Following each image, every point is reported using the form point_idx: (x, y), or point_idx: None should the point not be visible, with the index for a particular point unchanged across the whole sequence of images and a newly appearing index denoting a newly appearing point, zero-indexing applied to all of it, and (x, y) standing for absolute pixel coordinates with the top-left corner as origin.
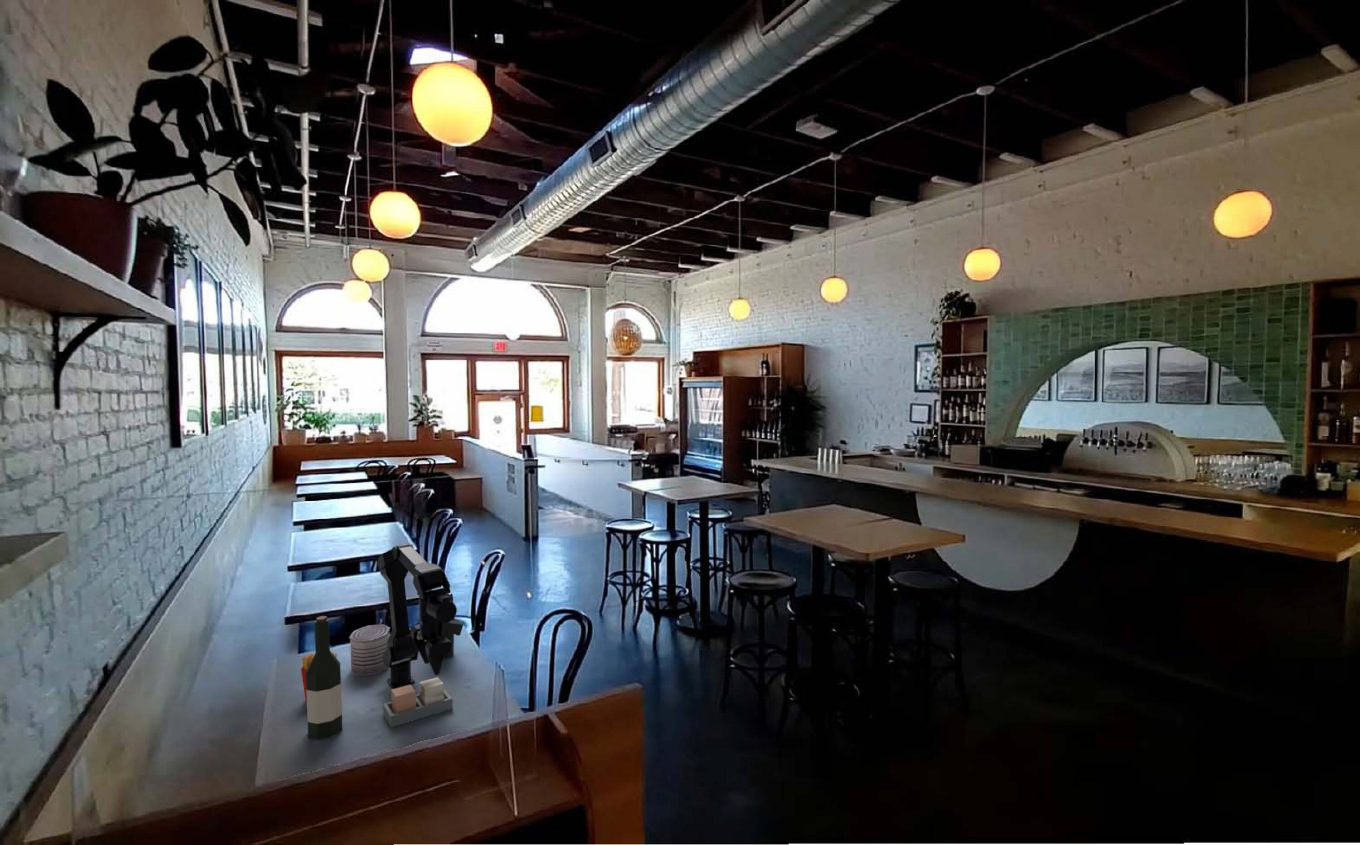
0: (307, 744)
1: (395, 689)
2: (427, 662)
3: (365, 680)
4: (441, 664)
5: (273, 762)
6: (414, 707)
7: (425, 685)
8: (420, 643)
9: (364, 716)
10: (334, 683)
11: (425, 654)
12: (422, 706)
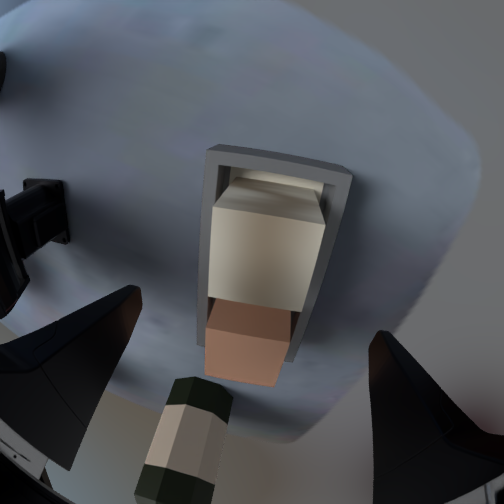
0: (231, 415)
1: (213, 369)
2: (138, 298)
3: (24, 263)
4: (434, 384)
5: (251, 436)
6: None
7: (266, 295)
8: (64, 439)
9: (184, 345)
10: (206, 488)
11: (107, 351)
12: (313, 287)
